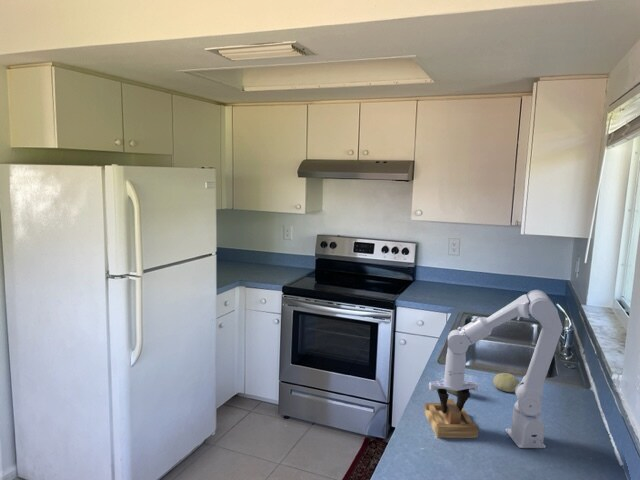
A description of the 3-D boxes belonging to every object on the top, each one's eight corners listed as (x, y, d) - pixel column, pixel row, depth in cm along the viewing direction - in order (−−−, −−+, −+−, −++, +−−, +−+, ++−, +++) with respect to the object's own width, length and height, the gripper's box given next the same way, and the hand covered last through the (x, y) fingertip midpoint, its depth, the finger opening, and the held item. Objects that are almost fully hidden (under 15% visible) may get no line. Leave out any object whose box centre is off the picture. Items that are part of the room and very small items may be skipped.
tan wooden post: (460, 426, 148) (461, 412, 147) (450, 426, 148) (451, 412, 147) (451, 412, 156) (452, 398, 155) (441, 412, 156) (442, 399, 155)
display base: (477, 437, 146) (478, 426, 145) (437, 437, 145) (438, 426, 144) (461, 413, 160) (462, 403, 159) (424, 413, 159) (425, 402, 158)
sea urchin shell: (489, 385, 176) (494, 364, 180) (491, 393, 182) (496, 373, 186) (516, 392, 172) (521, 371, 175) (518, 400, 177) (522, 380, 181)
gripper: (473, 364, 154) (469, 405, 156) (427, 364, 153) (424, 404, 155) (482, 374, 147) (477, 416, 149) (434, 374, 146) (430, 416, 148)
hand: (451, 411), depth 152 cm, fingers open, 4 cm apart
